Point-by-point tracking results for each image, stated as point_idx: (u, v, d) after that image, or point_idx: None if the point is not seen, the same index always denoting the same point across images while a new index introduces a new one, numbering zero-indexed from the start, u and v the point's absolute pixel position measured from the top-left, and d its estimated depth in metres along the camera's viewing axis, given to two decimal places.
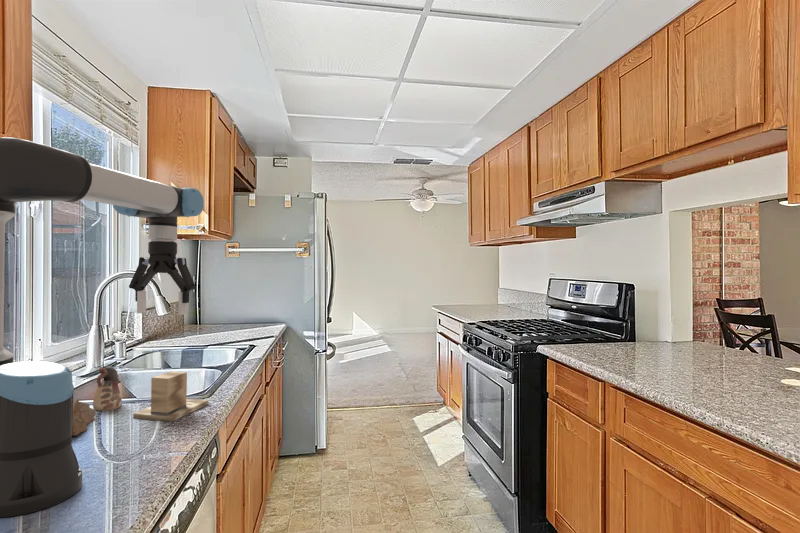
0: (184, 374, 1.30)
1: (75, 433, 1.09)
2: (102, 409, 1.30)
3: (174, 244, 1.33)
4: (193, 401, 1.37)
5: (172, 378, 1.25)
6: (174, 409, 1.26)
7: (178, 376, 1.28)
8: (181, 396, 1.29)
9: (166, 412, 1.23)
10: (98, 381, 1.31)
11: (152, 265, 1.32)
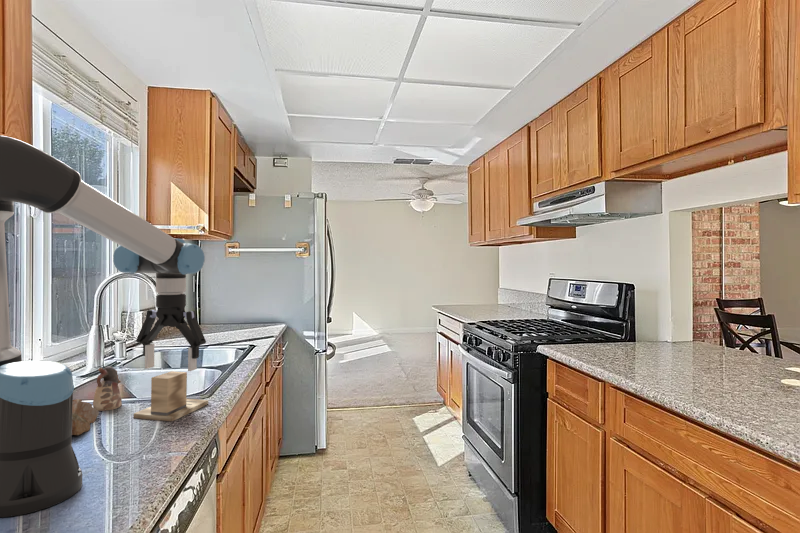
0: (184, 374, 1.30)
1: (78, 433, 1.10)
2: (102, 409, 1.30)
3: (183, 297, 1.27)
4: (193, 401, 1.37)
5: (172, 378, 1.25)
6: (174, 409, 1.26)
7: (178, 376, 1.28)
8: (181, 396, 1.29)
9: (166, 412, 1.23)
10: (98, 381, 1.31)
11: (160, 319, 1.26)
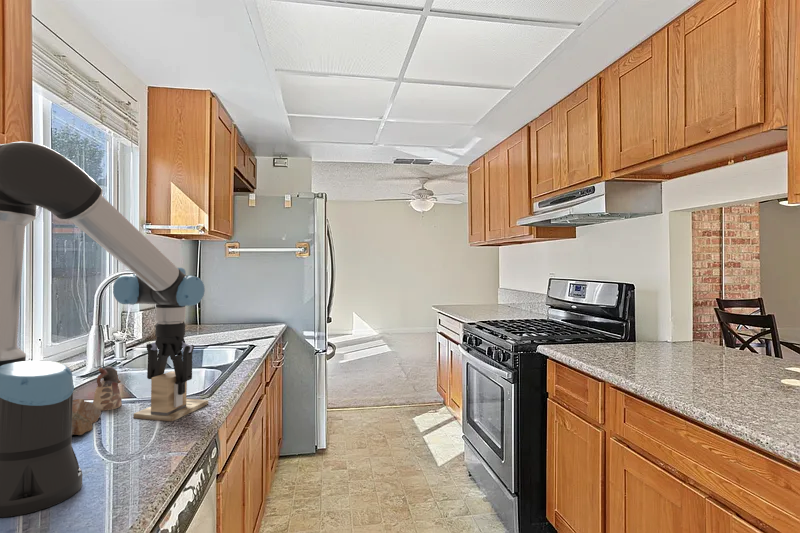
0: None
1: (80, 432, 1.10)
2: (102, 409, 1.30)
3: (182, 326, 1.27)
4: (193, 401, 1.37)
5: (172, 378, 1.25)
6: (174, 409, 1.26)
7: None
8: None
9: (166, 412, 1.23)
10: (98, 381, 1.31)
11: (159, 348, 1.26)
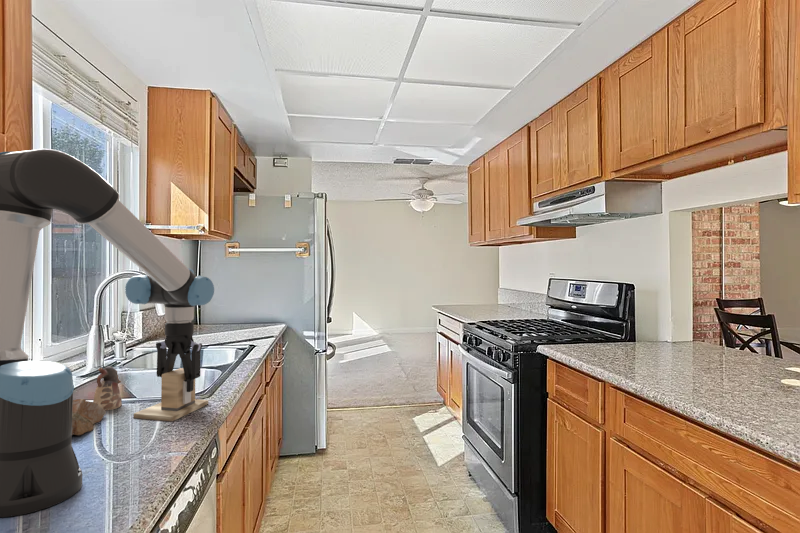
0: None
1: (79, 433, 1.10)
2: None
3: (191, 325, 1.31)
4: None
5: (181, 375, 1.29)
6: (183, 405, 1.30)
7: None
8: None
9: (176, 408, 1.27)
10: (98, 381, 1.31)
11: (168, 347, 1.30)
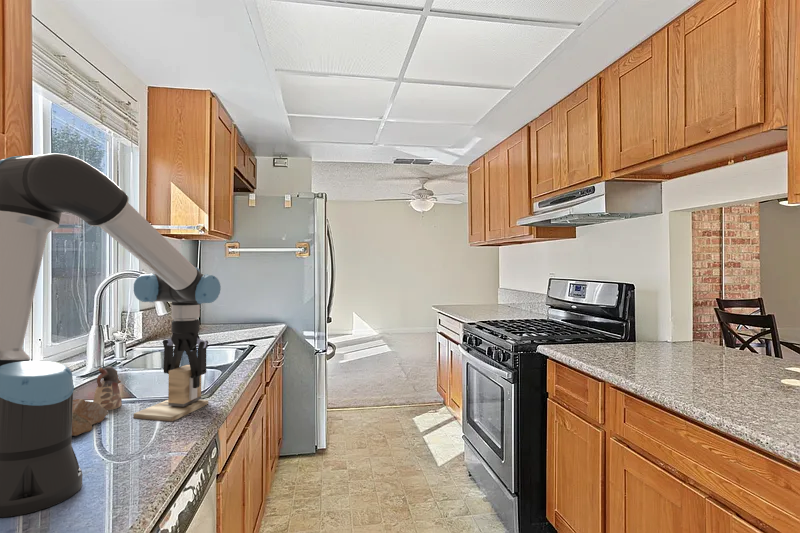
0: None
1: (75, 433, 1.09)
2: None
3: (197, 322, 1.34)
4: None
5: (188, 371, 1.32)
6: (190, 400, 1.33)
7: None
8: None
9: (182, 403, 1.30)
10: (98, 381, 1.31)
11: (175, 344, 1.33)
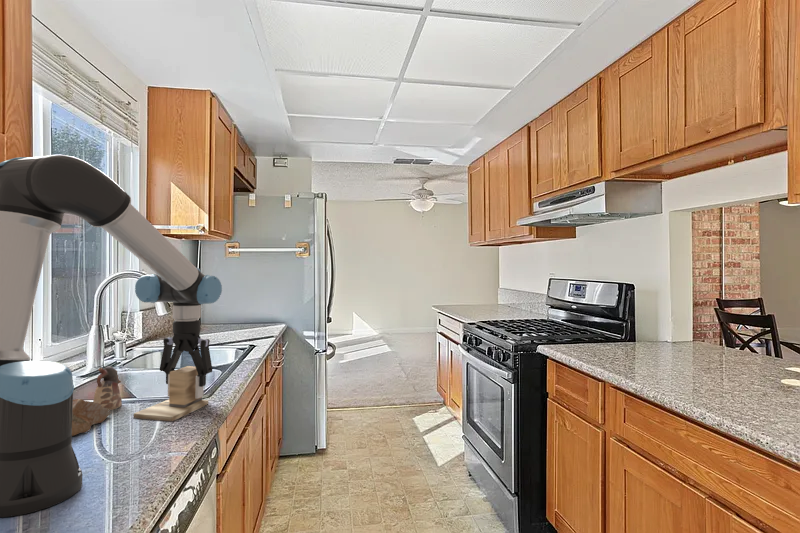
0: None
1: None
2: None
3: (198, 323, 1.34)
4: None
5: (189, 372, 1.32)
6: (191, 402, 1.33)
7: (194, 370, 1.35)
8: None
9: (183, 404, 1.30)
10: (98, 381, 1.31)
11: (176, 344, 1.33)
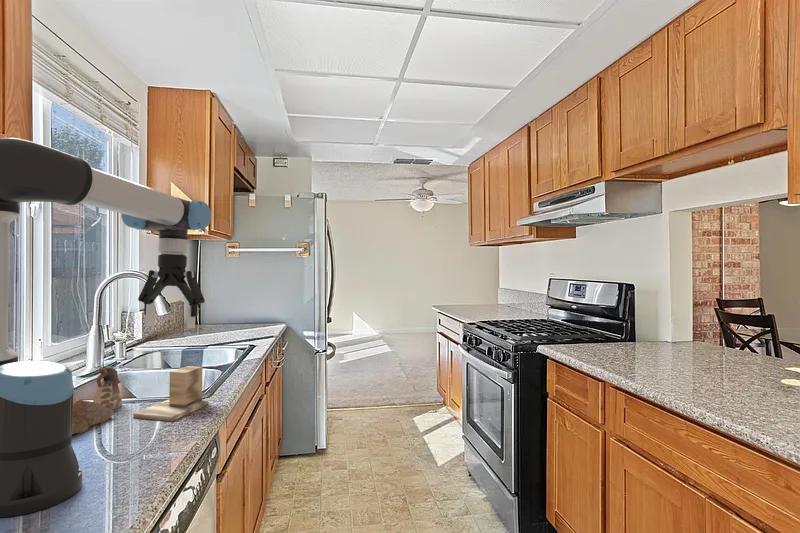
0: (200, 369, 1.37)
1: None
2: None
3: (184, 257, 1.32)
4: None
5: (189, 372, 1.32)
6: (191, 402, 1.33)
7: (194, 370, 1.35)
8: (197, 390, 1.36)
9: (183, 404, 1.30)
10: (98, 381, 1.31)
11: (161, 278, 1.31)
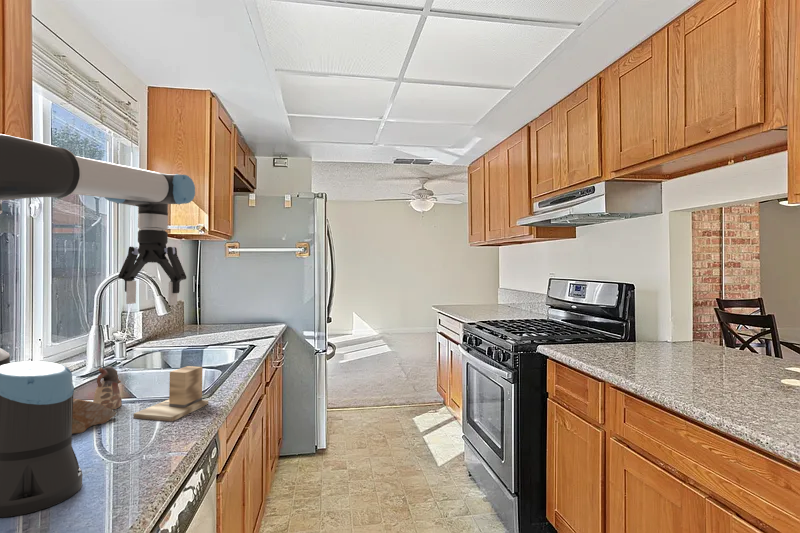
0: (200, 369, 1.37)
1: None
2: None
3: (164, 233, 1.30)
4: None
5: (189, 372, 1.32)
6: (191, 402, 1.33)
7: (194, 370, 1.35)
8: (197, 390, 1.36)
9: (183, 404, 1.30)
10: (98, 381, 1.31)
11: (142, 254, 1.29)
